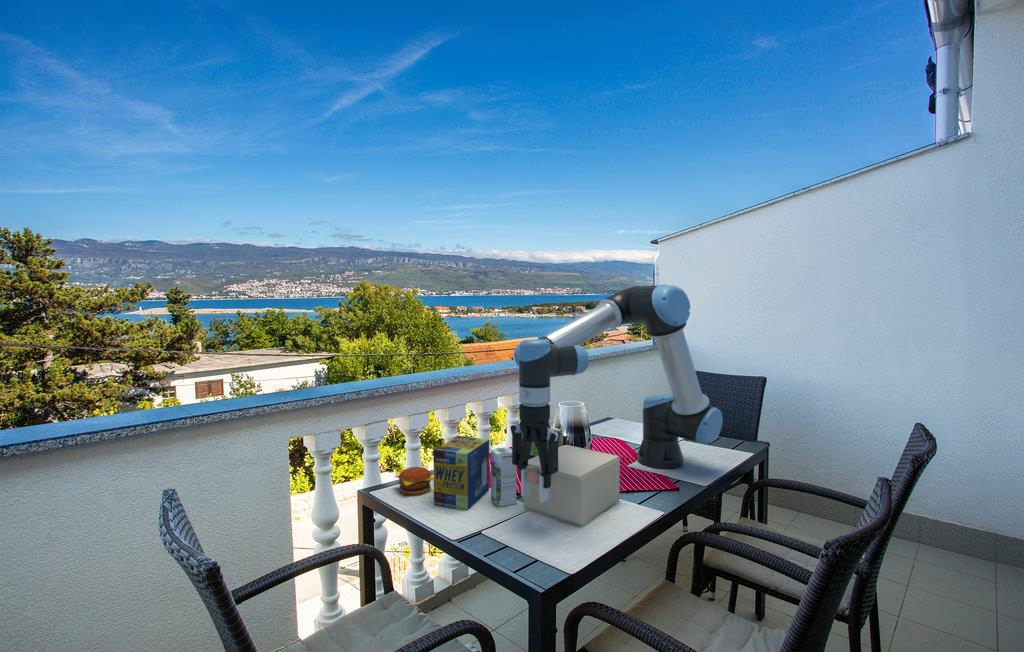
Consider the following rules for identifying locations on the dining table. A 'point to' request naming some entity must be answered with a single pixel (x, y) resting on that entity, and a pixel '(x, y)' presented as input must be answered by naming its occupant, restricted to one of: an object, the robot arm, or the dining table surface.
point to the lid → (572, 463)
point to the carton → (577, 496)
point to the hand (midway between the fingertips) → (534, 497)
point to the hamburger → (415, 481)
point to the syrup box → (503, 477)
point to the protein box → (461, 472)
